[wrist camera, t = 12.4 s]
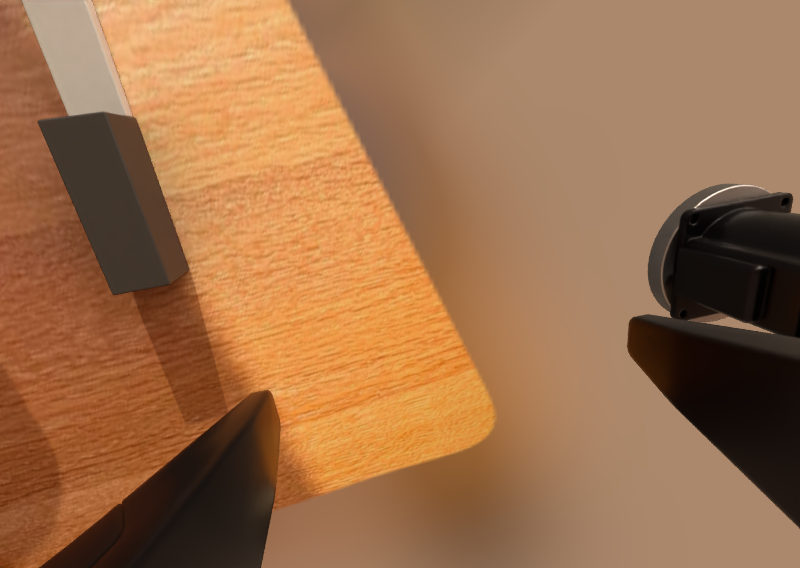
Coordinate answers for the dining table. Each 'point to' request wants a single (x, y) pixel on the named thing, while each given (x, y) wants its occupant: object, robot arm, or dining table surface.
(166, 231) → the two-tone stick
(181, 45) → the dining table surface
